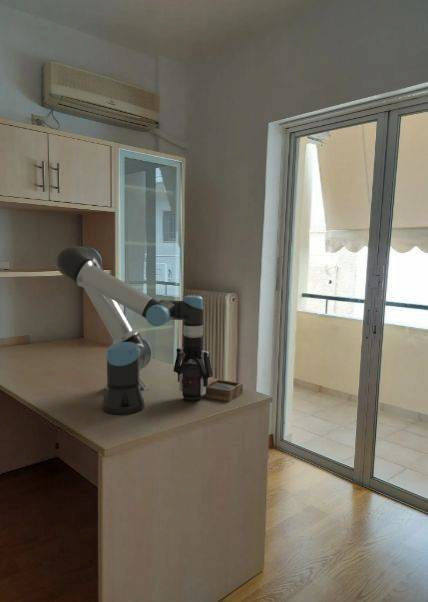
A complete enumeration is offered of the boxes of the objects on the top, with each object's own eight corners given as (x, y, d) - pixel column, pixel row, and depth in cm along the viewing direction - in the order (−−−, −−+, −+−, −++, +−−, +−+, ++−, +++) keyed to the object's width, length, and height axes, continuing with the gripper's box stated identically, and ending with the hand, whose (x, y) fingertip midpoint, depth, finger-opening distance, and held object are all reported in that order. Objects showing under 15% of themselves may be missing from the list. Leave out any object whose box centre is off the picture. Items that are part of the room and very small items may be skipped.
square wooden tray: (229, 401, 173) (229, 391, 173) (202, 396, 179) (202, 386, 178) (242, 393, 184) (242, 383, 183) (216, 388, 189) (217, 379, 189)
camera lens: (200, 403, 170) (200, 365, 168) (179, 402, 172) (179, 364, 170) (204, 397, 178) (205, 360, 176) (185, 395, 179) (185, 359, 178)
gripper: (222, 337, 170) (221, 394, 172) (175, 331, 180) (174, 385, 183) (213, 340, 163) (212, 399, 166) (164, 334, 174) (164, 390, 176)
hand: (192, 392), depth 174 cm, fingers open, 9 cm apart
